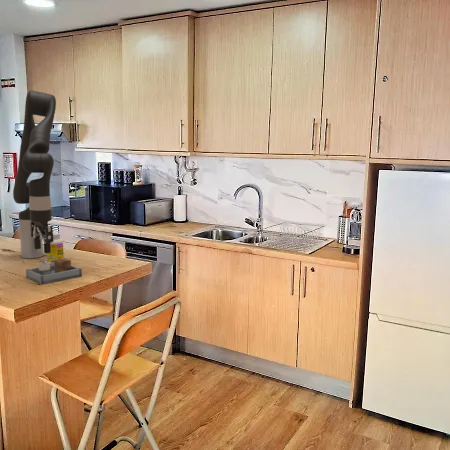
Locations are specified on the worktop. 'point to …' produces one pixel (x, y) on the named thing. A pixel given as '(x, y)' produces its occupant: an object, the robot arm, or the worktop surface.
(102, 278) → the worktop surface
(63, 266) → the walnut block
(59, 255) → the supplement bottle
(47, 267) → the grey rounded cylinder
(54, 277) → the parts tray
